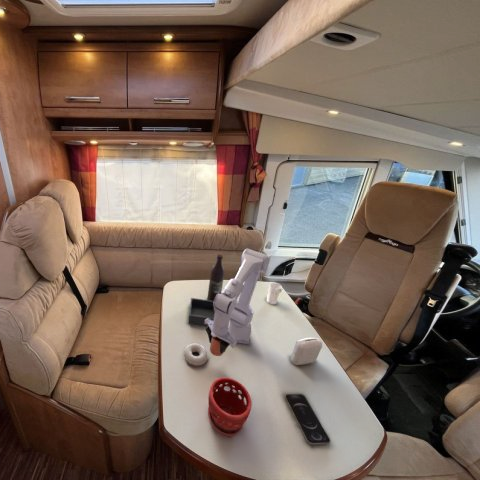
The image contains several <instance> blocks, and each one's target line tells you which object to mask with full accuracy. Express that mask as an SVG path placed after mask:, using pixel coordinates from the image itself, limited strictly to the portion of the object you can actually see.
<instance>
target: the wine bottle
mask: <svg viewBox="0 0 480 480" xmlns="http://www.w3.org/2000/svg"><path fill="white" fill-rule="evenodd" d="M223 259H224V256H223V254H217V255H216V262H215V264H214V265H213V266H212V268H211V269H210V275H209V283H208V290H207V299H206V300H211V301H214V299H215V297H216V296H217V294H219V293H220V294H221V293H222V291H223V285H224V279H225V269H224V267H223V264H222V263H223Z"/></svg>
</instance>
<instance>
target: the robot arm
mask: <svg viewBox="0 0 480 480" xmlns="http://www.w3.org/2000/svg"><path fill="white" fill-rule="evenodd" d="M240 261H241V262H240V263H241V265H240V267H239V270H238V271H237V273H236V275H235V277H234V278H231V279H229V281H228V282H227V284H226V285H225V286H224V288H223V289H222V291H221V294H220V293H219V294H217V296H216V297H215V299H214V302H213V306H214V311H215V315H214V321H212V320H210V319H209V318H207V319H205V324H206V325H207V324H208V326H206V327H205V329H204V330H205V332H206V334H207V337H208V343H209V345H210V344H211V338H212V336H213V337H218V338H220V339H222V340H223V341H221V342H220V346H221V349H220V353H221V354H222V353H223V354H224V353H225V352H226V351H227V349H228V347H229V346H230V347H231V348H235V347H236V346H237V343H241V344H247V345H248V344H249V343H250V337H251V333H252V320H253V317H254V312H255V311H254V309H253V308H252V306H251V305H250V303H251V300H252V298H253V295H254V291H255V289H256V286H257V283H258V280H259V277H260V275H261V273H266V271H267V269H268V266H269V263H270V261H271V258H270V254H265V253H263V252H262V253H261V252H259V251H256V250H253V249H250V248H248V247H247V248H245V249H244V250H243V252H242V254H241V259H240ZM223 354H222V355H223Z"/></svg>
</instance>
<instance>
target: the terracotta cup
mask: <svg viewBox="0 0 480 480" xmlns="http://www.w3.org/2000/svg"><path fill="white" fill-rule="evenodd" d="M221 341H223V340H222V339H220V338H218V337H213V336H212V338H211V344H210V343H209V351H210V354H212V355H213V356H215V357H220V356H222V355H223V354H224V353H222V354H221V353H220V349H221V346H220V342H221Z"/></svg>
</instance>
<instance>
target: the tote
mask: <svg viewBox="0 0 480 480" xmlns="http://www.w3.org/2000/svg"><path fill="white" fill-rule="evenodd" d="M213 302H214V301H211V300H207V299H203V298H202V299H201V298H195V297H190V304H189V311H188V312H189V313H188V322H187V323H188V324H190V325H194V326H195V325H196V326H202V327H208V324H207V325H206V324H205V319H207V318H209V319H210V320H212V321H214V315H215V311H214V306H213Z"/></svg>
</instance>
